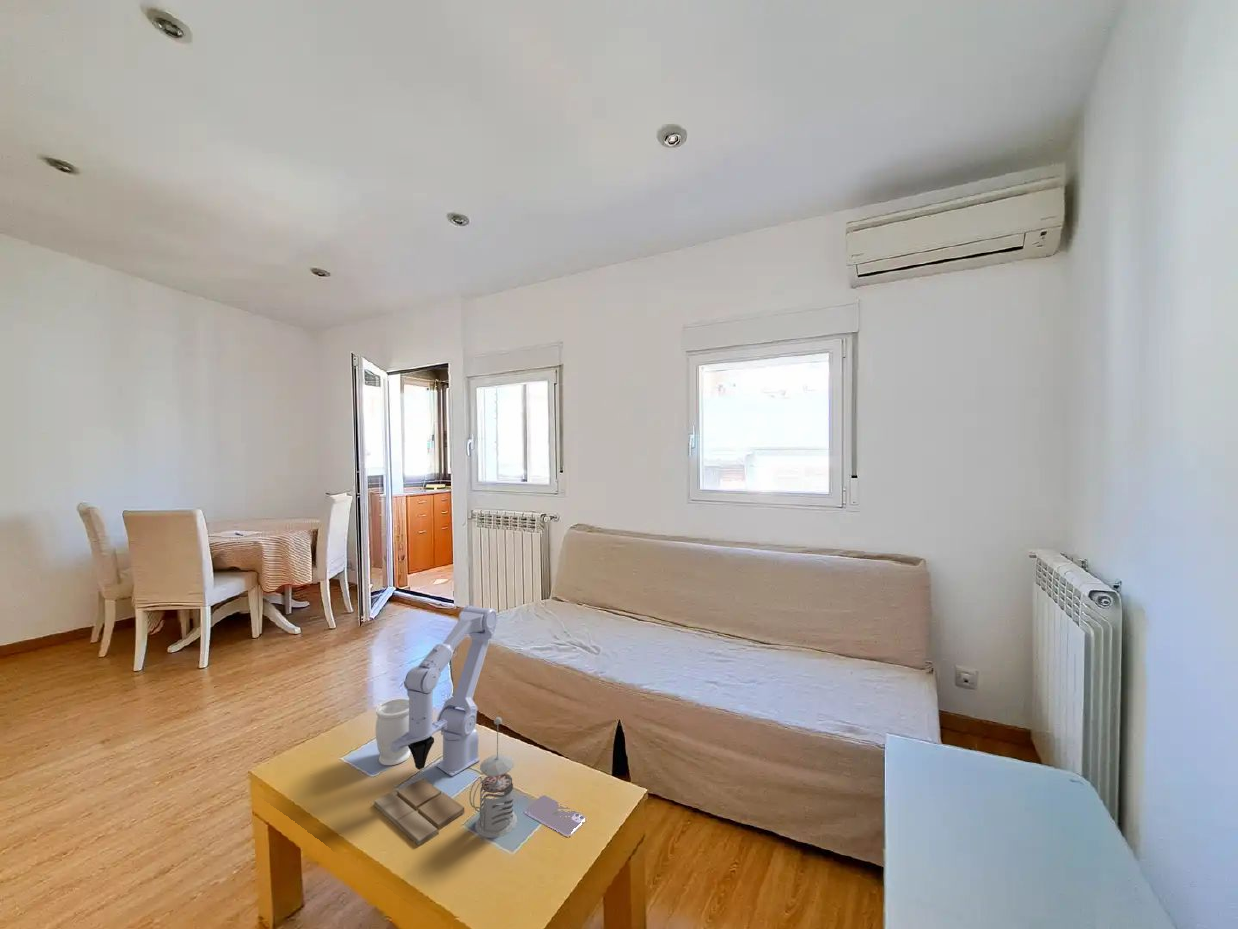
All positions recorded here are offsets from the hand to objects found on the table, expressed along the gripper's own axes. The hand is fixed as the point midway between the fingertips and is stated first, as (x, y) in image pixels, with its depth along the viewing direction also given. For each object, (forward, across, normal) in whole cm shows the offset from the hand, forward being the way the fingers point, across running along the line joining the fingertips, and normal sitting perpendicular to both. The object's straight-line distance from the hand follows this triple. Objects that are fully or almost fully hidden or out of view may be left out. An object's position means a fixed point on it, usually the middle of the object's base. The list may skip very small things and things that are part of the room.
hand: (419, 767), depth 124 cm
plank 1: (+7, 0, 0) cm, 7 cm away
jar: (+8, -4, -21) cm, 23 cm away
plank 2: (+7, 0, +10) cm, 12 cm away
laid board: (+7, +7, +5) cm, 11 cm away
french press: (+8, -6, +23) cm, 25 cm away
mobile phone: (+8, -17, +33) cm, 38 cm away
